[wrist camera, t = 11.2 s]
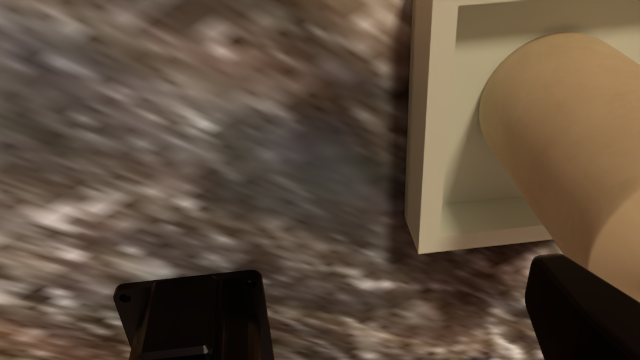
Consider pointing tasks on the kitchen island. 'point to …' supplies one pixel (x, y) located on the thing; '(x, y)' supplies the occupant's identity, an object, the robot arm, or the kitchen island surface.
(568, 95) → the candle
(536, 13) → the parts tray
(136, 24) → the kitchen island surface
